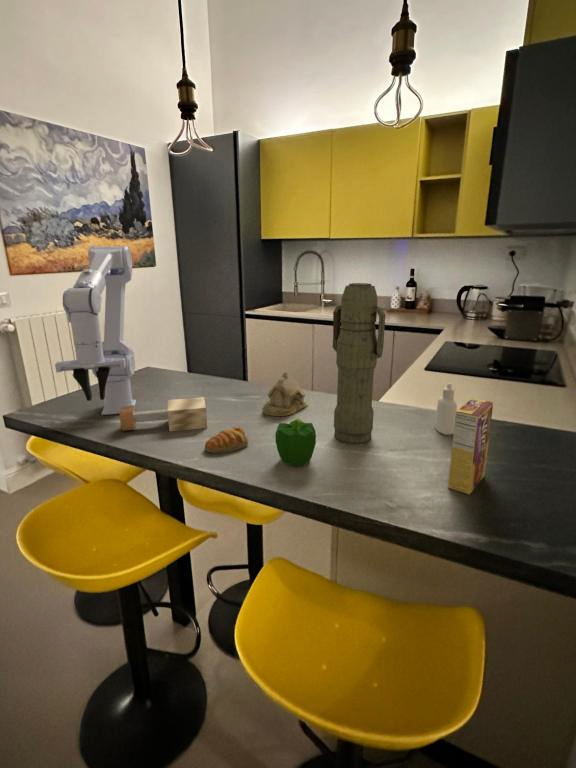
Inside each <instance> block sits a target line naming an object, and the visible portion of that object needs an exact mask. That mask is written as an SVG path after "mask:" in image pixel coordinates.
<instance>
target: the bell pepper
mask: <svg viewBox="0 0 576 768" xmlns="http://www.w3.org/2000/svg"><path fill="white" fill-rule="evenodd" d="M316 432H317V431H316V429H315V426H314V424H313V422H304V421H303V420H302V419H300V418H299V417H298V418H295V419H294V420H292V421H290V422H289V423H286V422H281V423H280V422H279V423H278V425H277V428H276V430H275V445H276V449H277V453H278V456H279V458H280V460H281V461H282V463H283V464H290V465H291V466H294V467H303V466H306V465H308V464H309V462H310V461H311V459H312V457H313V455H314V451H315V447H316V442H317V441H316V439H317V434H316Z"/></svg>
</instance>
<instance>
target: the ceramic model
mask: <svg viewBox="0 0 576 768" xmlns="http://www.w3.org/2000/svg"><path fill="white" fill-rule="evenodd" d="M305 396H306V393H305V392H304V391H303V390H302V389H301V386H300V385H299V384H298V382H297V381H296V380H294V379H293V377H292V376H291V375H290V374H289V373H287V372H283V373H282V376H281V377H280V378H279V379H278V380H277V382H276V383H275V384H273V385H272V387H271V389H270V390H269V391H268V393H267V397H268V398H269V400H268V401H265V403H264V404H263V405H262V410H263V413H264V414H265V415H269V416H273V417H274V416H275V417H285V416H291V415H293V414H295V413H296V412H297V411H300V410H302V409H305V408H306V407H307V406H308V403H307V402H306V401H305Z"/></svg>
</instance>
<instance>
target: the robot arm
mask: <svg viewBox="0 0 576 768" xmlns="http://www.w3.org/2000/svg"><path fill="white" fill-rule="evenodd" d="M87 258H88V259H87V260H88V263H89V267H88V268H87V269H83V271H81V272H80V274H79V276H78V277H77V280H76V281H75V283H74V285H73V286H72V287H68V288H67V290H64V291H63V293H62V301H61V302H62V307H63V310H64V312H65V314H66V318H67V321H68V323H69V324H70V325H71V333H72V339H73V345H74V346H73V347H74V353H75V359H74V360H65V361H56V363H54V365H55V366H54V367H55V372H56V373H62V372H68V371H69V372H70V371H73V373H72V377H73V379H74V380H75V381H76V382H77V384H78V385H79V387H80V388H81V389H82V391H83V394H84V395H85V397H86V400H87V402H88V401H89V402H90V401H91V400H92V398H93V395H92V394H93V393H92V388H91V385H90V375H89V371H90V370H91V372H92V375H93V376H94V377H95V378H97V384H98V389H99V399H100V400H101V401H103V405H104V407H103V408H102V411H101V416H104V415H105V416H106V415H117V414H118V415H119V412H120V409H121V406H132V405H134V407H135V406H136V402H137V400H136V399H133V394H132V386H131V385H132V384H131V379H130V378H132V376H133V375H134V374H135V372H136V371H135V370H136V362H135V354H134V353H135V352H134V351H133V349H132V347H130V346H129V345H128V344H126V343H125V342H124V328H125V326H124V325H125V323H124V322H125V299H126V298H125V293H126V284H128V283H129V282H130V281H132V275H133V259H132V252H131V249H130V247H128V246H127V245H120V246H118V245H116V246H115V245H114V246H113V245H111V246H110V245H109V246H107V245H99V246H98V245H91V246H89V248H88V250H87ZM104 289H105V302H104V303H105V306H104V327H103V328H104V330H103V340H102V334H101V327H100V326H101V325H100V319H99V314H100V312H101V308H102V300H103V299H102V294H103V291H104ZM135 408H136V407H135Z"/></svg>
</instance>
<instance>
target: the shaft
mask: <svg viewBox="0 0 576 768" xmlns="http://www.w3.org/2000/svg"><path fill="white" fill-rule="evenodd" d="M135 408H136V407H134V405H132V406H121V409H120V412H119V414H118V415H119V420H120V422H119V423H120V427H121V428H120V430H121V431H130V430H135V429H136V425H137V423H144V422H153V421H154V422H155V421H156V422H157V421H164V420H165V421H166V420H168V408H163V409H152V410H141V411H136V409H135Z"/></svg>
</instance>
